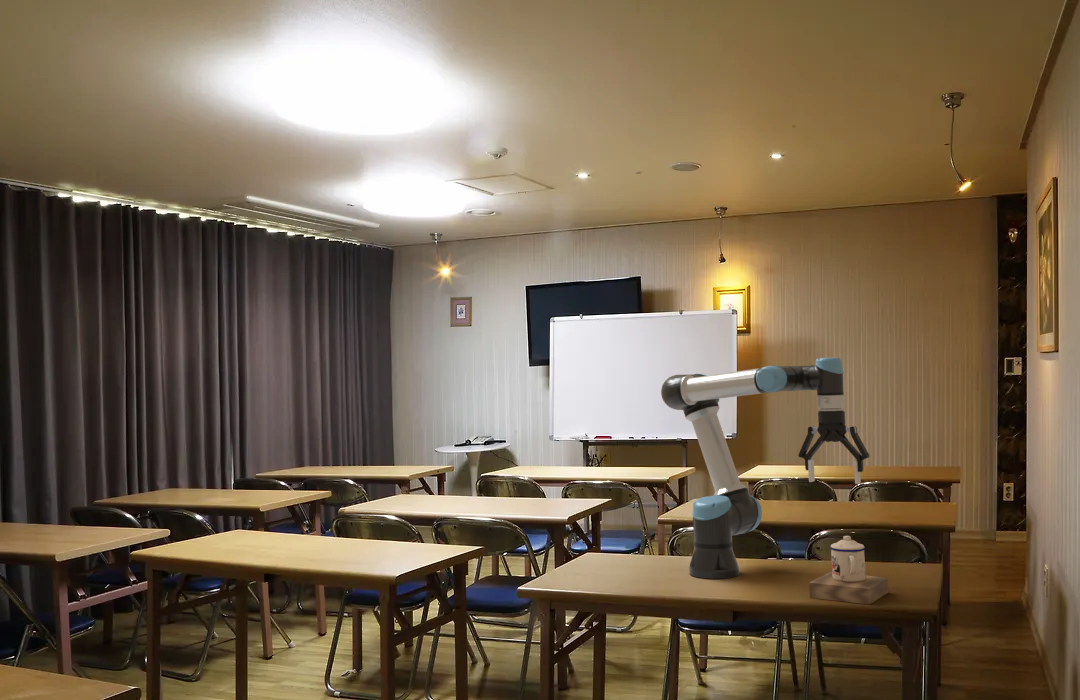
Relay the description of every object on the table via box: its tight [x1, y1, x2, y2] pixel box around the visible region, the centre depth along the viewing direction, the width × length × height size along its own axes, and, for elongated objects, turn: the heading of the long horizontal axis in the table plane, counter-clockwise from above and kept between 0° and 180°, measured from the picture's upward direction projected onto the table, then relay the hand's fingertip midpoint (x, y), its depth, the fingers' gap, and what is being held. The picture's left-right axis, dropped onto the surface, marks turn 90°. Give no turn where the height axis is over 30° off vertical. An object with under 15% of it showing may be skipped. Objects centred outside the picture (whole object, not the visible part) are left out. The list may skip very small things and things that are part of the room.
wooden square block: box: [808, 571, 889, 605], centre depth 245 cm, size 16×16×4 cm
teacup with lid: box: [829, 535, 866, 582], centre depth 246 cm, size 12×9×12 cm
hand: (834, 482), depth 263 cm, fingers open, 13 cm apart
